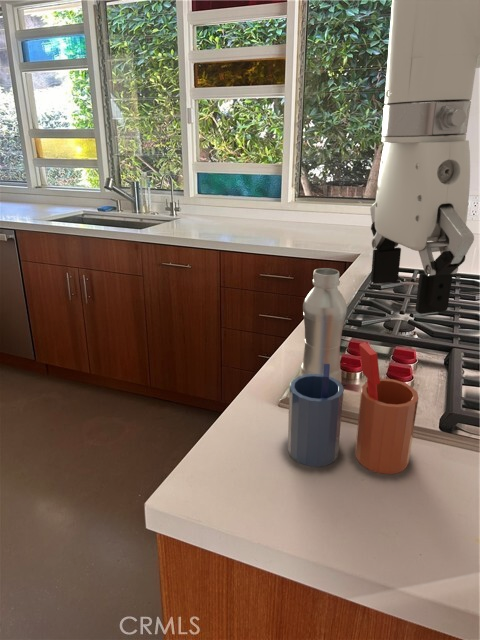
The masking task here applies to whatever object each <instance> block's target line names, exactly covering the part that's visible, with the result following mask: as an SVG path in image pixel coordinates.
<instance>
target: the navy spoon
mask: <svg viewBox="0 0 480 640" xmlns="http://www.w3.org/2000/svg"><path fill="white" fill-rule="evenodd" d="M329 371H330V364H324V368H323V382H322V392H321V398H328V396H329V393H328V386H329Z"/></svg>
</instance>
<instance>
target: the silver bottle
mask: <svg viewBox="0 0 480 640" xmlns="http://www.w3.org/2000/svg"><path fill="white" fill-rule="evenodd" d="M312 278H313V279H312V285H313V288H312V289H311V290H310V291H309V293H308V294H307V295H306V297H305V298H304V299H303V300H304V301H303V304H302V313H303V323H304V324H303V325H304V350H303V356H302V364H301V365H300V370H299V374H298V375H299V376H301V375H306V374H322V375H323V368H324V364H330V371H329V377H332V378H334V379H336V380H338V381H339V382H340V383H341V384H342V371H341V342H342V336H343V329H344V326H345V322H346V317H347V313H348V305H347V304H348V303H347V301H346V298H345V297H344V296H343V294H342V293H341V291H340V289H339V286H340V285H341V283H340V282H341V281H340V271H339V270H337V269H336V268H335V269H334V268H327V267H322V268H316V269H314V270H313V276H312ZM299 376H298V377H299Z"/></svg>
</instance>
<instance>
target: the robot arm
mask: <svg viewBox="0 0 480 640" xmlns="http://www.w3.org/2000/svg"><path fill="white" fill-rule="evenodd" d="M389 25H390V26H389V38H388V39H389V40H388V51H387V66H386V78H385V79H386V80H385V92H384V93H385V94H384V106H383V114H382V115H383V117H382V131H381V143H383V148H382V153H381V160H380V165H379V171H378V172H379V173H378V177H377V183H376V184H377V185H376V192H375V193H376V195H375V202H374V203H373V204H372V205H370V208H369V211H370V217H371V225H370V231H371V233H372V236H373V238H372V240H371V247H372V249H373V250H372V261H371V272H370V281H371V283H372V284H374V285H377V284H386V283H387V284H389V283H397V281H398V280H399V274H400V264H401V253H402V248H401V247H398V246H399V245H401V246H402V247H404V248H405V247H406V248H407V249H410V250H413V251H416V252H418V254H419V257H420V258H419V259H420V262H421V265H422V268H423V273H419V275H418V283H417V293H416V300H415V310H414V311H415V312H416V313H418V314H419V315H424V314H434V313H442V312H446V311H447V310H448V309H449V303H450V296H451V290H452V289H451V288H452V282H453V275H455V274H457V273H458V271H459V267H460V266H461V265H462V264H463V263H464V262H465V260H466V255H467V254H468V253H469V250H470V248H471V247H472V244H473V243H474V241H475V235H474V233H473V232H472V231H471V229H470V228H469V227H468V225H467V221H468V211H469V203H470V202H469V199H470V187H471V186H470V184H471V150H470V141H469V140H466V139H467V133H468V125H469V118H470V111H471V105H472V104H471V103H472V101H471V100H472V98H473V91H474V83H475V76H476V70H477V69H480V0H392V1H391V11H390V24H389ZM437 252H438V253H440V255H438V256H437V257H436V259H434V255H433V253H437Z"/></svg>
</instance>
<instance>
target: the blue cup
mask: <svg viewBox="0 0 480 640" xmlns="http://www.w3.org/2000/svg"><path fill="white" fill-rule="evenodd" d="M322 382H323V375H322V374H306V375H301V376H296V377H294V378H293V379H292V380H291V381H290V382H289V390H288V391H289V393H288V422H287V423H288V424H287V425H288V427H287V430H288V431H287V452H288V455H289V456H290V457H291V458H292V459H293V460H294V461H295V462H296V463H298V464H301V465H302V466H305V467H306V466H307V467H310V468H311V467H312V468H322V467H326V466H329V465H331V464H333V463H334V462H335V461H336V460H337V458H338V456H339V449H340V438H341V426H342V425H341V424H342V413H343V400H344V386H343V384H342V382H341V383H340V382H339V381H338V380H336V379H334V378H332V377H329V386H328V393H329V396H328V398H321V392H322Z"/></svg>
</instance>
